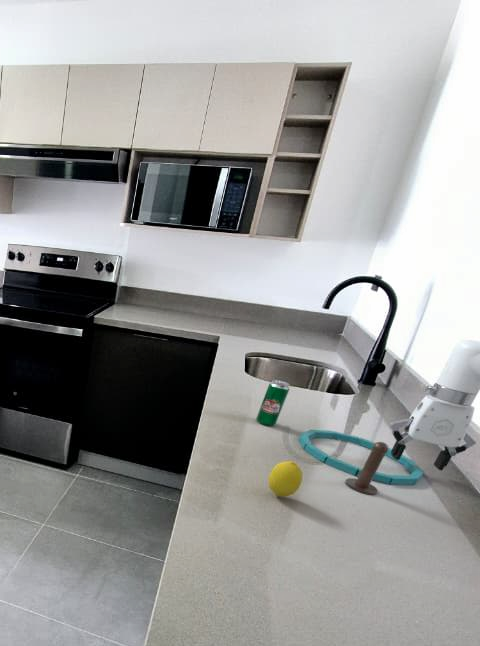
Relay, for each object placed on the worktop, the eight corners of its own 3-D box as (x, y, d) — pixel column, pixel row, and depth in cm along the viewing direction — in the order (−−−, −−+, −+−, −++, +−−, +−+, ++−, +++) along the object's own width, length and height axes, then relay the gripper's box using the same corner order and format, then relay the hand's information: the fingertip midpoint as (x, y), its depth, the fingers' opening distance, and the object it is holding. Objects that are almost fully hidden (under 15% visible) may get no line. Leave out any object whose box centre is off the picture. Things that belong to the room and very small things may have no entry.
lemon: (288, 507, 97) (304, 471, 93) (259, 494, 100) (273, 459, 97) (296, 498, 101) (311, 463, 97) (267, 486, 104) (281, 452, 100)
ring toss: (371, 485, 111) (394, 441, 107) (380, 497, 106) (404, 451, 101) (341, 477, 113) (362, 433, 108) (349, 489, 107) (371, 444, 103)
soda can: (254, 422, 139) (269, 381, 134) (257, 417, 143) (272, 378, 138) (273, 428, 136) (289, 387, 131) (276, 423, 140) (292, 383, 135)
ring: (396, 451, 133) (399, 446, 132) (437, 496, 110) (441, 490, 110) (292, 427, 139) (294, 422, 139) (310, 464, 117) (313, 458, 116)
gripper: (414, 391, 112) (380, 459, 120) (507, 410, 108) (465, 479, 115) (402, 382, 119) (370, 447, 126) (489, 399, 115) (450, 466, 122)
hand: (416, 462), depth 121 cm, fingers open, 8 cm apart
